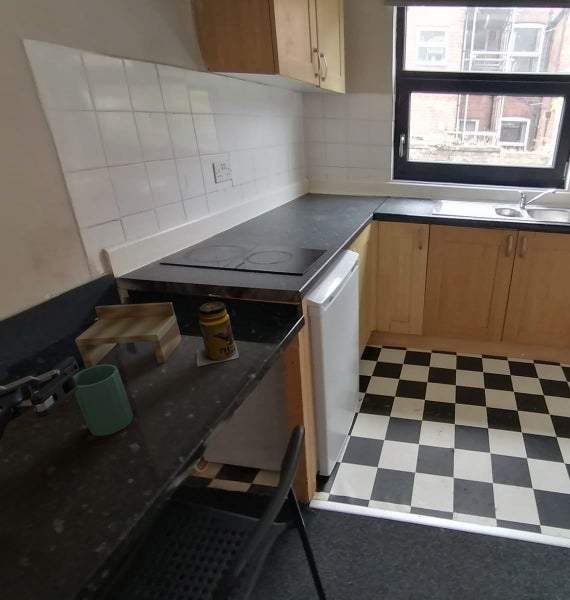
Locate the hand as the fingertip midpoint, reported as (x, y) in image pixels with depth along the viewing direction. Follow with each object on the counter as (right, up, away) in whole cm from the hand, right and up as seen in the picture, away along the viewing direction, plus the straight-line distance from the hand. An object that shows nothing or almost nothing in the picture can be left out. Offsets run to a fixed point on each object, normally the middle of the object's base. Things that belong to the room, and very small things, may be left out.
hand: (38, 365), depth 54 cm
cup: (-2, -13, +16) cm, 21 cm away
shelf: (-11, -3, +37) cm, 39 cm away
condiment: (+7, -4, +37) cm, 38 cm away
